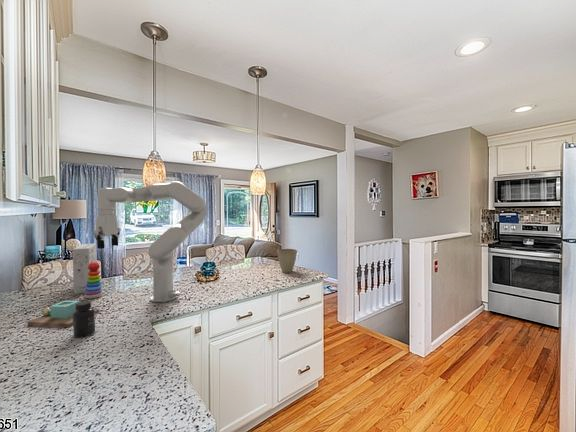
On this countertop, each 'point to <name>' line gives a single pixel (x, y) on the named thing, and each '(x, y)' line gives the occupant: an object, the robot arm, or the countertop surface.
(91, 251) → the cereal box
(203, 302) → the countertop surface
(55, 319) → the post base
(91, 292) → the stacking toy
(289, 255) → the plant pot
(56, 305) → the teal square scoop
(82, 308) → the supplement bottle
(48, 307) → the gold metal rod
